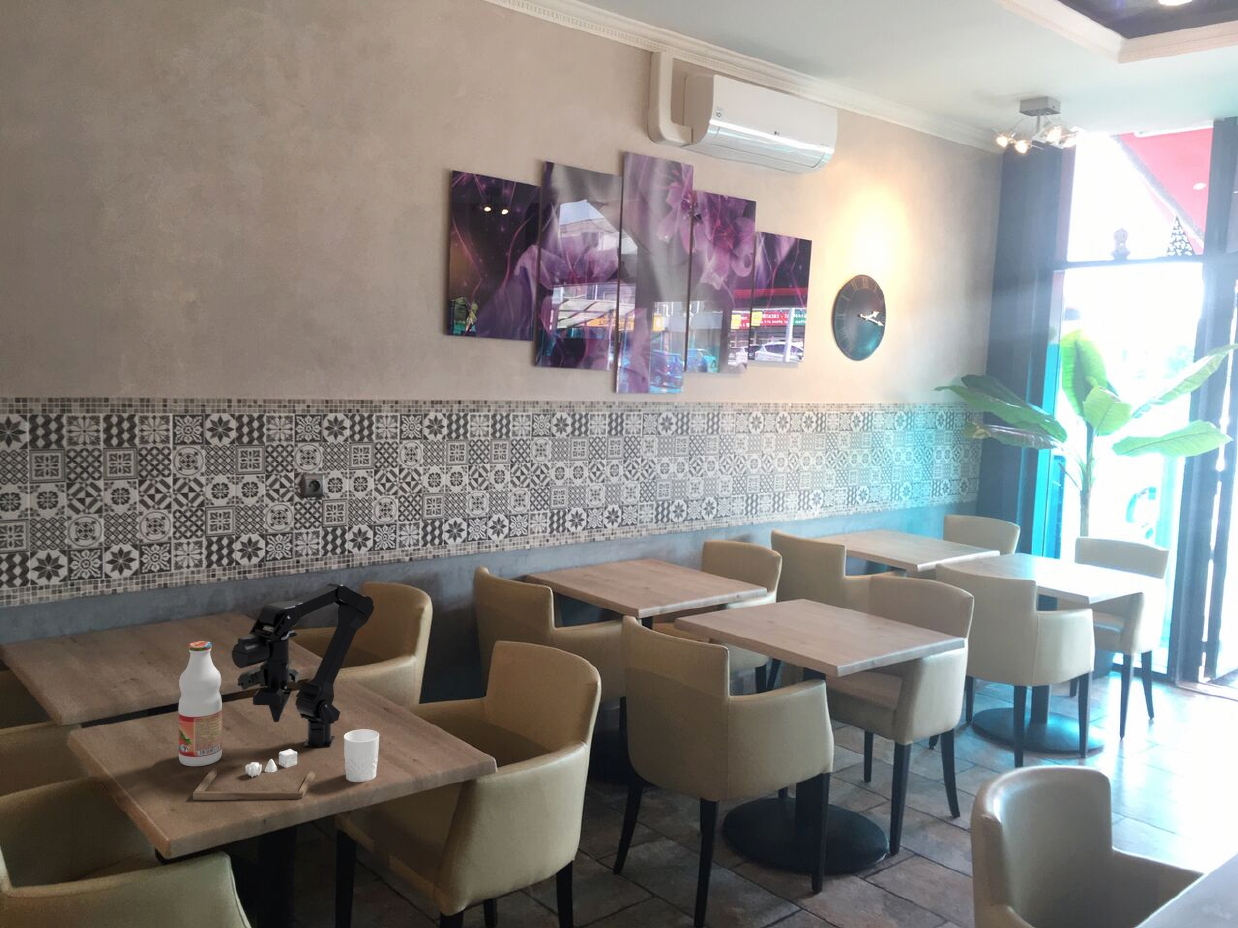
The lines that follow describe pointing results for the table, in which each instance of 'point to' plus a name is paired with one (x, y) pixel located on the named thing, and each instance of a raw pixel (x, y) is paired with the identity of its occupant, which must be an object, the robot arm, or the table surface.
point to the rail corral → (234, 795)
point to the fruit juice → (200, 709)
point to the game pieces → (285, 760)
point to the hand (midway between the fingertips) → (276, 721)
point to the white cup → (361, 754)
